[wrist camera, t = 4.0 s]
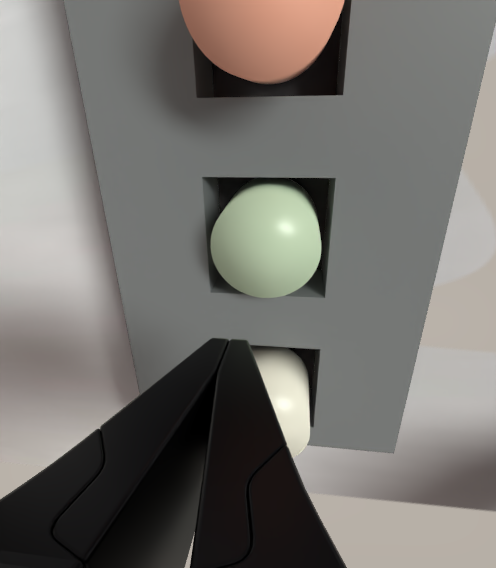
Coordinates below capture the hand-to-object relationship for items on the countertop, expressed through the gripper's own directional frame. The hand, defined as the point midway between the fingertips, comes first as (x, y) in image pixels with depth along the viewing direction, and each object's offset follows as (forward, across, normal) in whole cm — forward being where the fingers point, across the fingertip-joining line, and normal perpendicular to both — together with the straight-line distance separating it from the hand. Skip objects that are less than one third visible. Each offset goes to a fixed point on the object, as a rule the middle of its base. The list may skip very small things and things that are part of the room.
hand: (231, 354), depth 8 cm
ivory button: (+9, 0, +8) cm, 12 cm away
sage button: (+10, 0, 0) cm, 11 cm away
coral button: (+9, 0, -8) cm, 12 cm away
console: (+11, 0, 0) cm, 11 cm away
